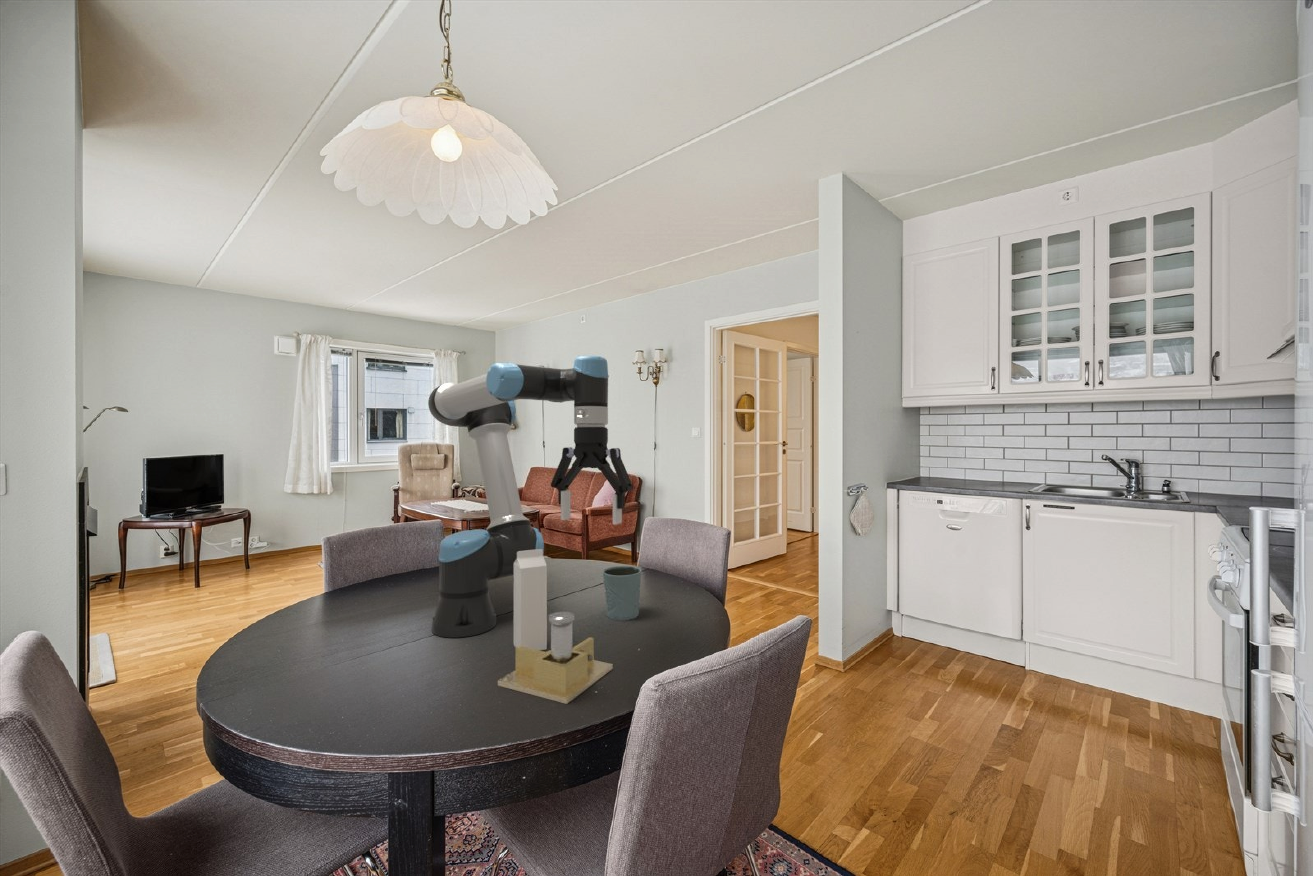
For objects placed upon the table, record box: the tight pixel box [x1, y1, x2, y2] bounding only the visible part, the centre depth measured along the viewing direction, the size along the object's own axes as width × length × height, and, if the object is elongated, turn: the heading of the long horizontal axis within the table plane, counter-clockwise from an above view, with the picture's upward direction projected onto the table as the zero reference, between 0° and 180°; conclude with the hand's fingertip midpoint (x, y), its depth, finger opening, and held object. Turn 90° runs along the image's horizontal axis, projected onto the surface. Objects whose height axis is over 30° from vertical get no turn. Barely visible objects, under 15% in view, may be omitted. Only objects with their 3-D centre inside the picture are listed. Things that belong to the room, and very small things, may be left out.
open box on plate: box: [497, 637, 613, 705], centre depth 107 cm, size 16×16×6 cm
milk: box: [513, 549, 548, 651], centre depth 121 cm, size 6×6×22 cm
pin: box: [548, 611, 575, 664], centre depth 102 cm, size 5×5×13 cm
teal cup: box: [602, 565, 642, 621], centre depth 143 cm, size 10×10×12 cm
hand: (590, 521), depth 120 cm, fingers open, 13 cm apart
